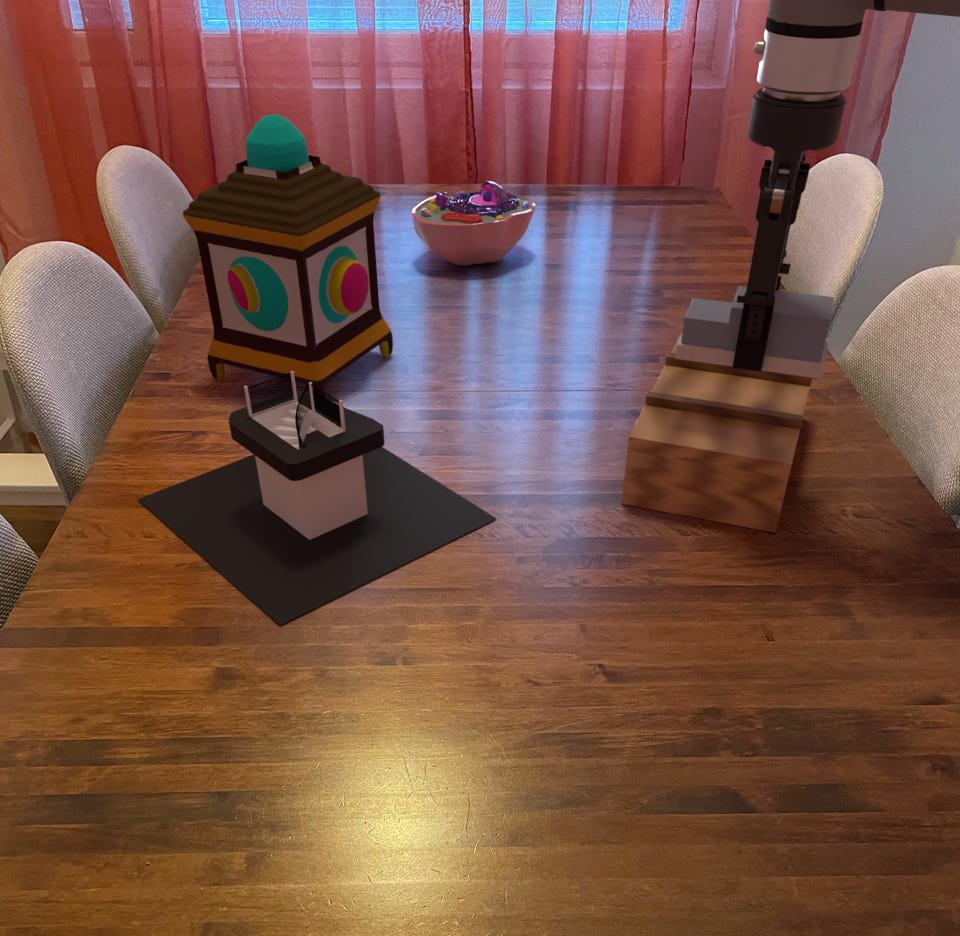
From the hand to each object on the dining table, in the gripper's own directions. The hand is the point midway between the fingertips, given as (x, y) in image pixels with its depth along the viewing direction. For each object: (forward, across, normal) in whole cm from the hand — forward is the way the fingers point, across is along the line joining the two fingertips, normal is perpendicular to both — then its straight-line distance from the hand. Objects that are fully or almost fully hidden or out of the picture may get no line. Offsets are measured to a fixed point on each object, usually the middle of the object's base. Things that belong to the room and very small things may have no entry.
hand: (751, 353), depth 97 cm
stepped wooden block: (+15, -5, -2) cm, 16 cm away
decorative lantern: (+15, -12, -56) cm, 60 cm away
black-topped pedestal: (+15, +18, -40) cm, 47 cm away
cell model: (+15, -57, -48) cm, 76 cm away
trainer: (0, 0, 0) cm, 0 cm away
